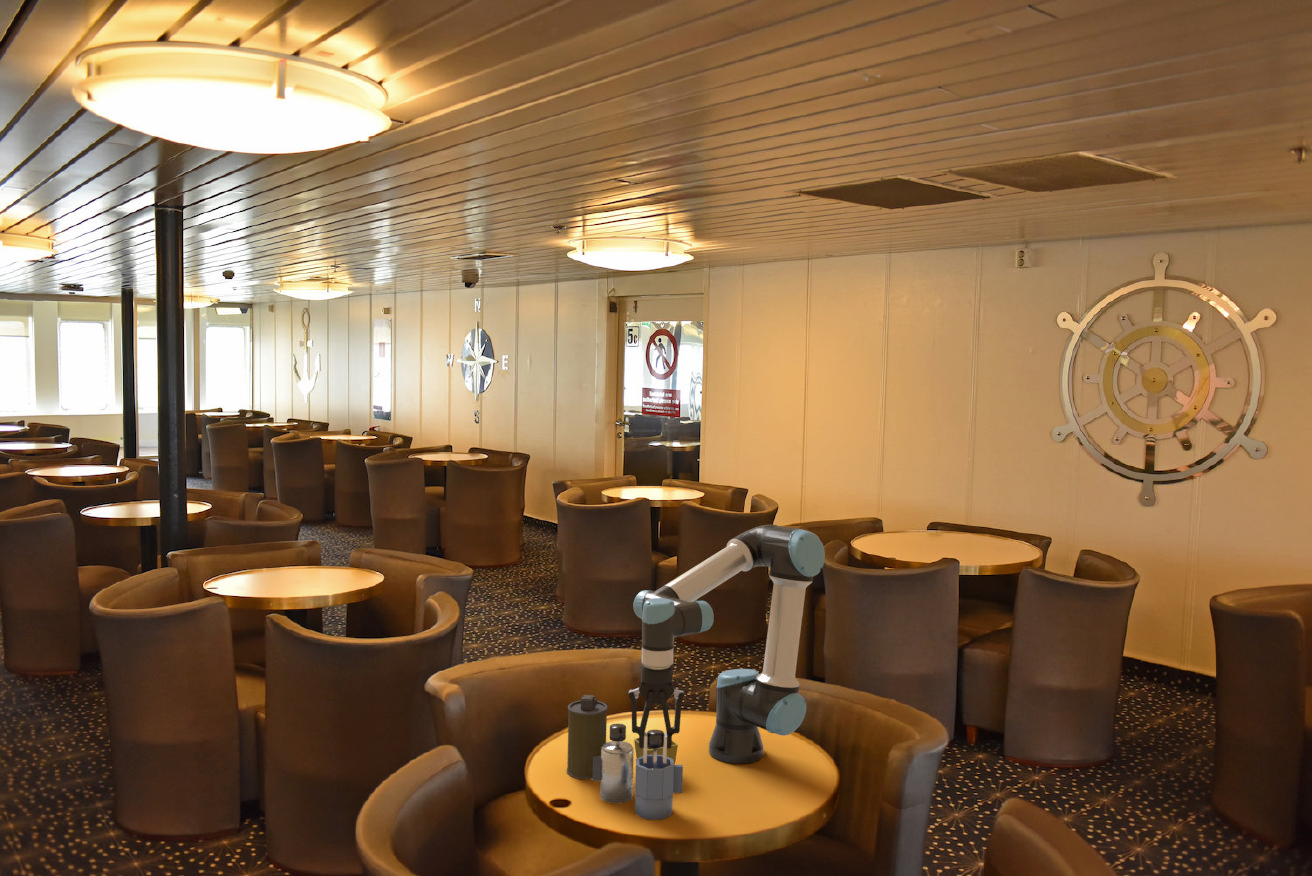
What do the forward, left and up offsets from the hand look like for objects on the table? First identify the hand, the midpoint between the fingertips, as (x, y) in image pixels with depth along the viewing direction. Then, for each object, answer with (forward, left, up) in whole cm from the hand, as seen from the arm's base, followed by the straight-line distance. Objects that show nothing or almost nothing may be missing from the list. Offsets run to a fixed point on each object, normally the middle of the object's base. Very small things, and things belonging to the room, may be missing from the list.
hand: (654, 760), depth 225 cm
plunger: (0, 0, -7) cm, 7 cm away
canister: (+17, -23, -13) cm, 31 cm away
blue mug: (-1, 0, -12) cm, 12 cm away
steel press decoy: (+9, -8, -12) cm, 17 cm away
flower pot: (-1, -21, -13) cm, 24 cm away
